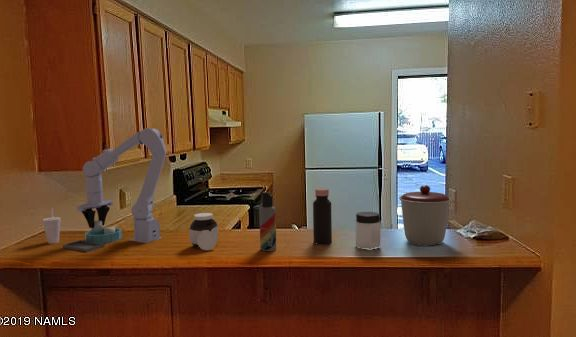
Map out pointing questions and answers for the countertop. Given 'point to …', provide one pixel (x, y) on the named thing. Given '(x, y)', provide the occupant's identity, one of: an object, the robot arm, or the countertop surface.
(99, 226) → the white pebble
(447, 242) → the countertop surface
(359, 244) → the jar
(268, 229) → the lotion bottle
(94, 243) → the parts tray
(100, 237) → the bowl
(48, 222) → the smoothie
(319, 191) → the vinegar
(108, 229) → the pale stone
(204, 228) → the spread jar
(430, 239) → the canister
